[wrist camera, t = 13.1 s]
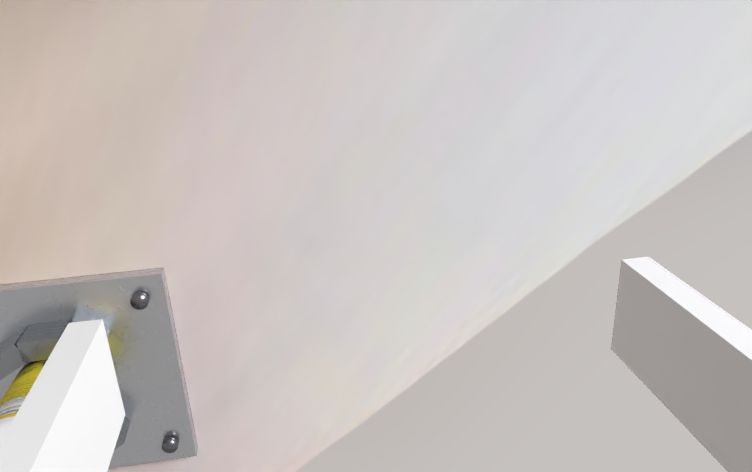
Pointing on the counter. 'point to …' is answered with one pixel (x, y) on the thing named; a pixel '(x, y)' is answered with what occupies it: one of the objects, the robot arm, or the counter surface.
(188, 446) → the collar
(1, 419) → the pill bottle
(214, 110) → the counter surface
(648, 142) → the counter surface
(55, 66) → the counter surface
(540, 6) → the counter surface
